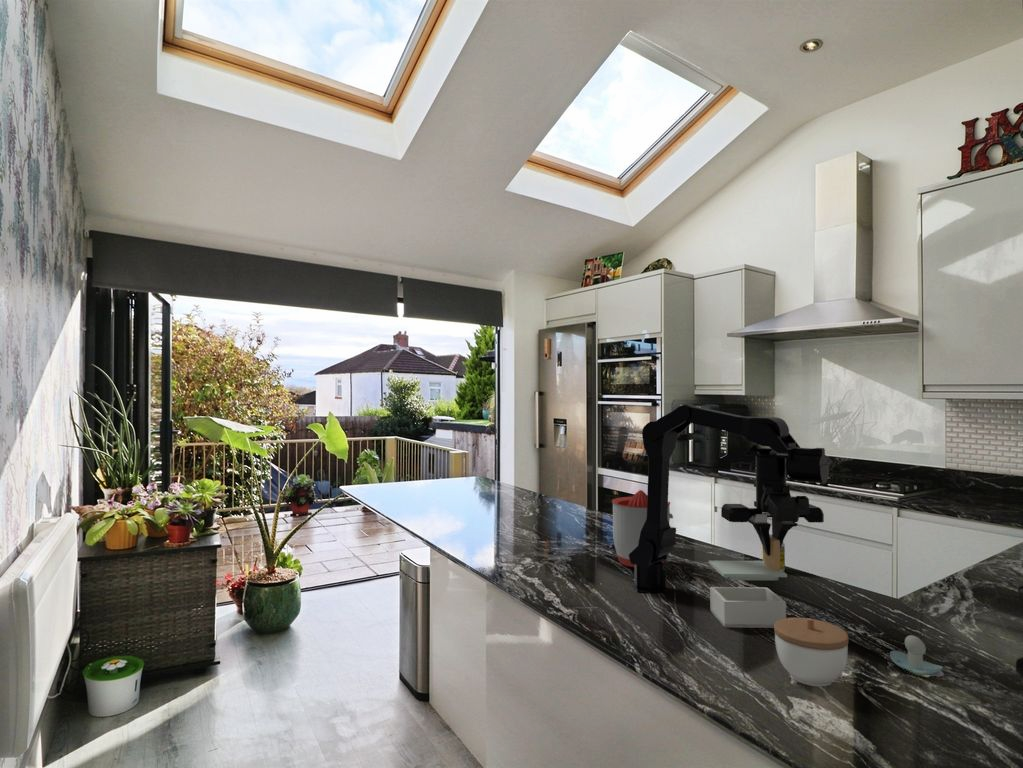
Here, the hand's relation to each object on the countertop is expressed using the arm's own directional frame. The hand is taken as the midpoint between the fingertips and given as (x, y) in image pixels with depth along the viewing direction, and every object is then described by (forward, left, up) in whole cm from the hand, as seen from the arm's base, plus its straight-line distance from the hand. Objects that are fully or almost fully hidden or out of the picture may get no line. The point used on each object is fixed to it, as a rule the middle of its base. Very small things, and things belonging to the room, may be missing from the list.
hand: (771, 555), depth 120 cm
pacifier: (+15, -22, -13) cm, 30 cm away
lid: (-5, 0, -3) cm, 6 cm away
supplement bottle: (+15, +35, -13) cm, 40 cm away
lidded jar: (-4, -25, -13) cm, 29 cm away
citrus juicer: (-18, +40, -13) cm, 46 cm away
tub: (-5, 0, -13) cm, 14 cm away
